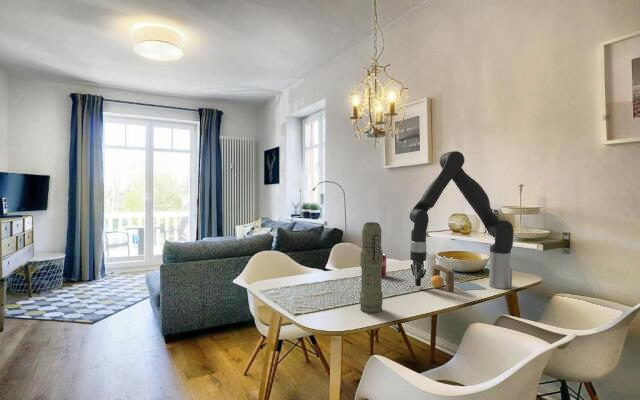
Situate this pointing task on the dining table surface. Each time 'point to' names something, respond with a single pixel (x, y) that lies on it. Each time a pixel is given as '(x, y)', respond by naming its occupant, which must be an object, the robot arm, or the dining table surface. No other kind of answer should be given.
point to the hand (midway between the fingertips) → (418, 285)
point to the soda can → (383, 270)
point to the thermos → (371, 269)
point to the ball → (437, 281)
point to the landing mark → (469, 286)
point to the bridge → (448, 276)
